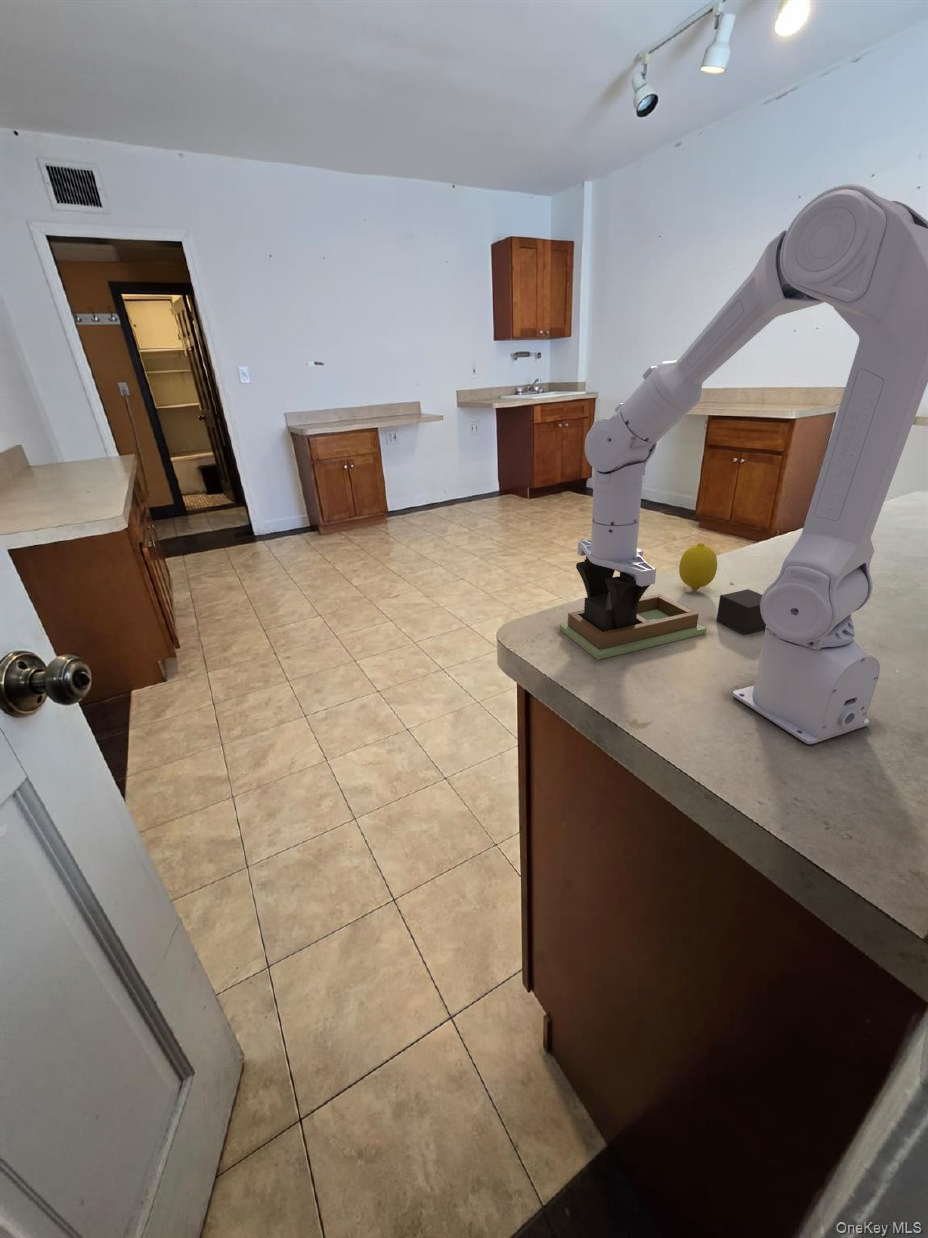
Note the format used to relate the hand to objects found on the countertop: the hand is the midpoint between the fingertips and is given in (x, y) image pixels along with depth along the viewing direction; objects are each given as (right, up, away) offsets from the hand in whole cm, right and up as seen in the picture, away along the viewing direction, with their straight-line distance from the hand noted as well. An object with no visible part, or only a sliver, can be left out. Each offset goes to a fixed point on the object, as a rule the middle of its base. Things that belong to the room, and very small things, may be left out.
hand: (609, 618), depth 70 cm
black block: (+19, -1, +2) cm, 19 cm away
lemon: (+18, +4, +14) cm, 23 cm away
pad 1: (0, -1, +1) cm, 1 cm away
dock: (+4, -2, +2) cm, 5 cm away
